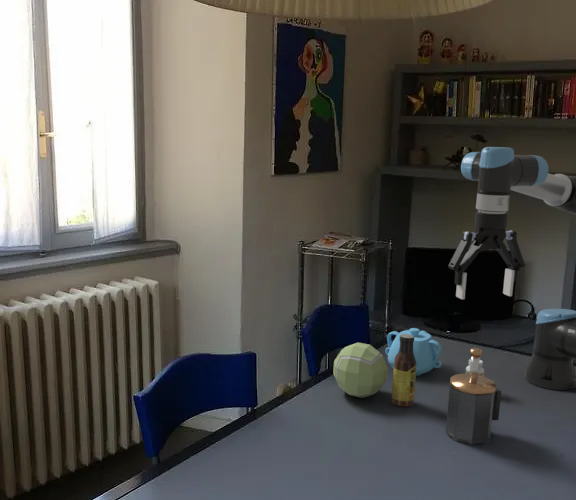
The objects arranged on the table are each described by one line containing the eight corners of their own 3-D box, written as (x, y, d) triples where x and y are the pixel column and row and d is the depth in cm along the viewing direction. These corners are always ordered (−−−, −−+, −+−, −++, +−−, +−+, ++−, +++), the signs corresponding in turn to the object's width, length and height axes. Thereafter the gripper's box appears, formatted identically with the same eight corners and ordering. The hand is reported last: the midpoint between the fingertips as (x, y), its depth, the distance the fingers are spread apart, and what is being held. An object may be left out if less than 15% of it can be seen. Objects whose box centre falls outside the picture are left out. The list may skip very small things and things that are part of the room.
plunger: (475, 416, 169) (482, 341, 165) (500, 436, 159) (509, 356, 155) (437, 420, 166) (444, 343, 162) (461, 441, 156) (469, 359, 152)
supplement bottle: (486, 393, 189) (489, 363, 187) (471, 395, 187) (474, 365, 185) (474, 386, 194) (477, 356, 192) (460, 388, 192) (462, 358, 190)
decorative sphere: (343, 380, 195) (346, 333, 192) (390, 390, 188) (394, 342, 186) (325, 398, 181) (327, 348, 178) (375, 409, 175) (379, 358, 172)
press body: (483, 421, 170) (487, 376, 168) (507, 440, 160) (513, 392, 158) (438, 426, 166) (442, 380, 164) (460, 446, 156) (465, 397, 154)
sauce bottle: (413, 409, 176) (418, 341, 173) (390, 406, 178) (395, 338, 174) (413, 399, 183) (418, 333, 179) (391, 397, 184) (396, 331, 180)
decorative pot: (382, 359, 214) (384, 320, 211) (429, 360, 215) (432, 321, 212) (391, 378, 198) (394, 337, 195) (442, 379, 199) (446, 337, 196)
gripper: (455, 214, 146) (448, 303, 150) (545, 213, 154) (536, 297, 158) (438, 210, 153) (431, 295, 157) (525, 208, 161) (517, 289, 165)
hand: (484, 296), depth 158 cm, fingers open, 13 cm apart
